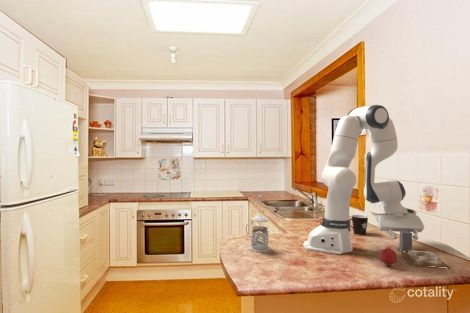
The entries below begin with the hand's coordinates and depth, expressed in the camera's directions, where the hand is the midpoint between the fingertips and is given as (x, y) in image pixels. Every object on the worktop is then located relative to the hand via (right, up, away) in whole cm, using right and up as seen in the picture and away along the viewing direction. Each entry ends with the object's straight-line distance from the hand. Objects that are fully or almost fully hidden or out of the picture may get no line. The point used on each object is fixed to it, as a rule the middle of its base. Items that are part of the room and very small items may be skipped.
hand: (405, 238), depth 133 cm
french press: (-69, -5, +1) cm, 69 cm away
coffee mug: (-10, -6, +30) cm, 32 cm away
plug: (0, -6, 0) cm, 6 cm away
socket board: (-1, -5, -14) cm, 15 cm away
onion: (-19, -5, -19) cm, 27 cm away
